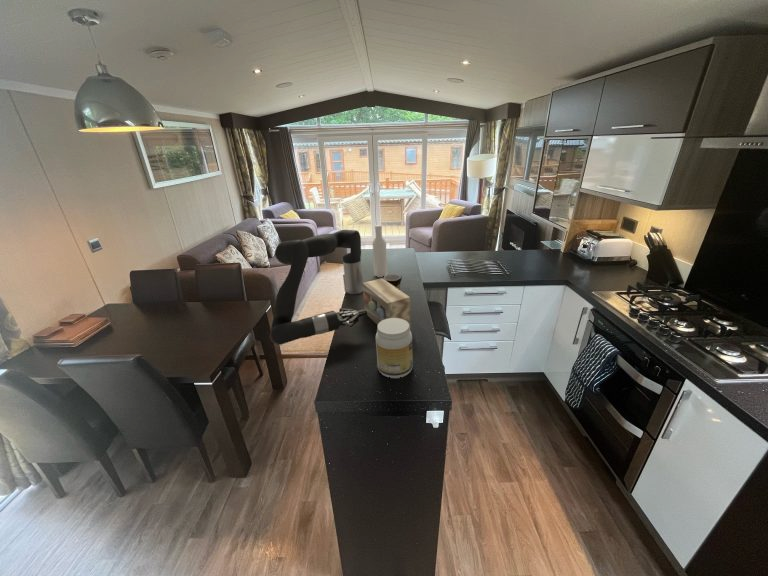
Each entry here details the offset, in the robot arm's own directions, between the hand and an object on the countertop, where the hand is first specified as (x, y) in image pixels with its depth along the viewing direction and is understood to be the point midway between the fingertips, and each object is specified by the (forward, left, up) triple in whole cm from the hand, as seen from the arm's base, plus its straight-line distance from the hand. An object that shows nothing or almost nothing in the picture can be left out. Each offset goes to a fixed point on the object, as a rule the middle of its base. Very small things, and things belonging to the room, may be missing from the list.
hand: (366, 311), depth 125 cm
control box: (+2, +11, -9) cm, 15 cm away
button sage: (-1, +6, -2) cm, 7 cm away
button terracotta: (-7, +11, -2) cm, 13 cm away
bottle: (-30, +56, -10) cm, 65 cm away
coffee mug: (-8, +36, -10) cm, 39 cm away
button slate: (+5, +2, -2) cm, 6 cm away
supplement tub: (+22, -15, -10) cm, 28 cm away
